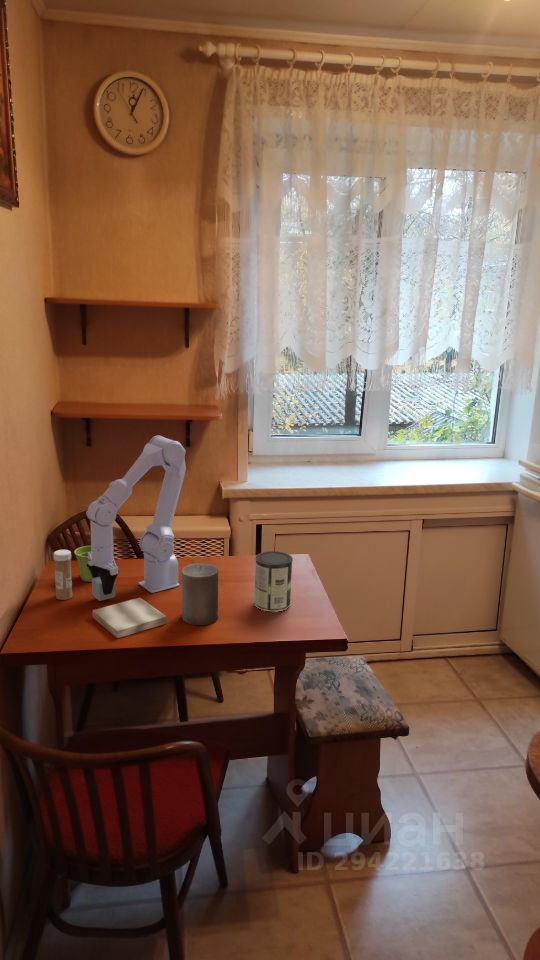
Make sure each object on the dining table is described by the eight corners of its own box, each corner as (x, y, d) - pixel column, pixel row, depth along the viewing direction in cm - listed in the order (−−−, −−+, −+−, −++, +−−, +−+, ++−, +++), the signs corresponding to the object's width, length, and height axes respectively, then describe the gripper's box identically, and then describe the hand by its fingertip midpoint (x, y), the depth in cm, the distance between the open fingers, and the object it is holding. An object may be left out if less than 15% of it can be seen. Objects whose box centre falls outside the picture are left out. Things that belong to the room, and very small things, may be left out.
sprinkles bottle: (74, 598, 190) (73, 553, 187) (58, 601, 188) (56, 556, 184) (69, 592, 194) (67, 547, 190) (53, 595, 191) (51, 550, 188)
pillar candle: (225, 618, 182) (226, 565, 178) (197, 629, 175) (197, 575, 171) (202, 606, 188) (202, 555, 185) (173, 616, 182) (173, 564, 178)
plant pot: (82, 570, 209) (82, 544, 207) (112, 573, 208) (111, 546, 206) (70, 582, 200) (69, 555, 198) (100, 585, 199) (100, 557, 197)
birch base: (140, 604, 188) (139, 597, 188) (166, 623, 178) (166, 616, 177) (92, 617, 179) (92, 610, 179) (117, 638, 169) (117, 631, 169)
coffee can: (271, 593, 198) (273, 548, 195) (297, 605, 191) (300, 558, 188) (246, 604, 191) (247, 556, 187) (273, 616, 184) (275, 567, 180)
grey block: (107, 591, 193) (107, 574, 191) (115, 596, 189) (114, 580, 188) (92, 595, 190) (91, 578, 188) (99, 600, 186) (99, 584, 185)
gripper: (76, 539, 188) (78, 585, 192) (100, 555, 178) (101, 603, 181) (100, 534, 193) (101, 579, 196) (124, 550, 182) (125, 596, 185)
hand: (103, 590), depth 189 cm, fingers closed on grey block, 5 cm apart
